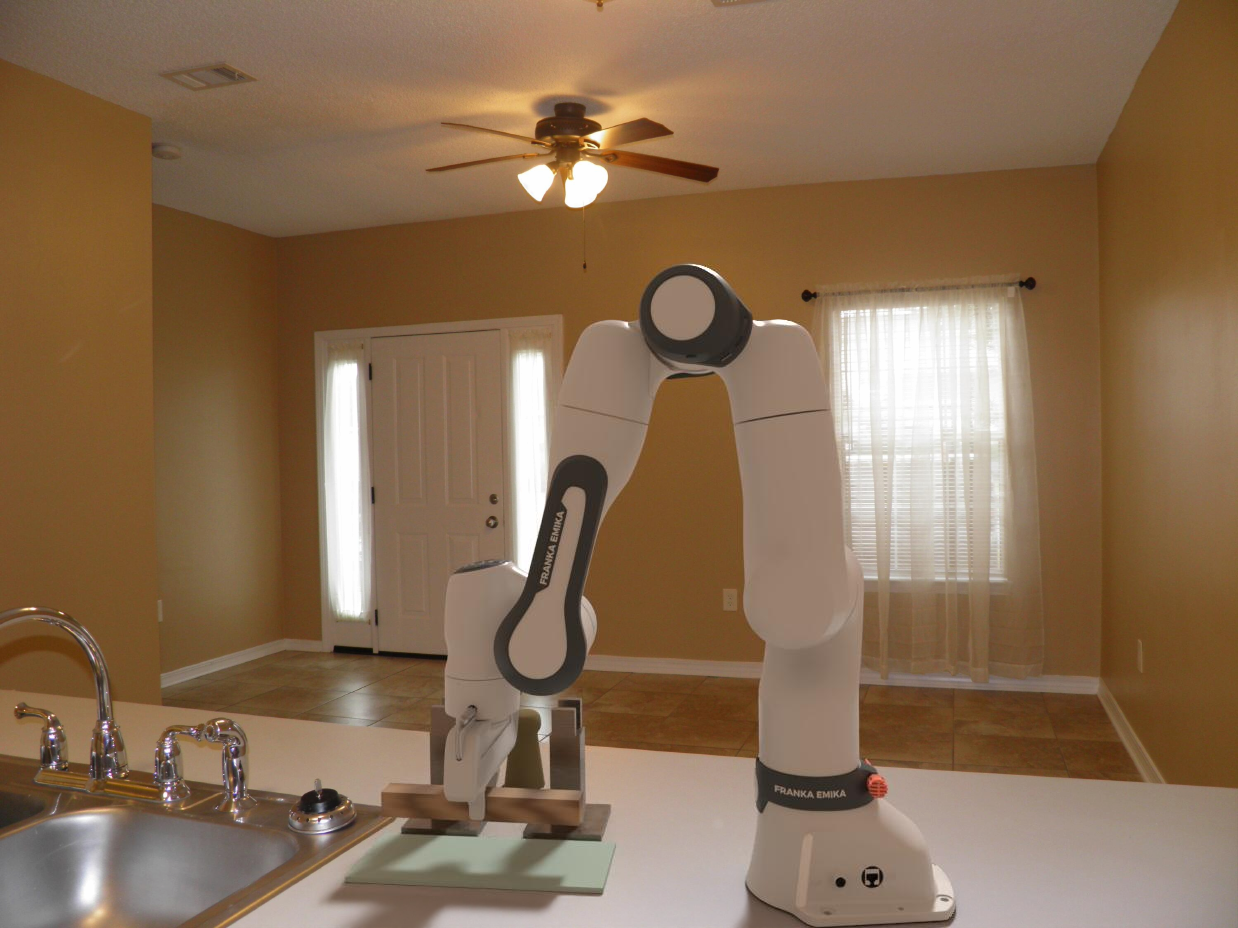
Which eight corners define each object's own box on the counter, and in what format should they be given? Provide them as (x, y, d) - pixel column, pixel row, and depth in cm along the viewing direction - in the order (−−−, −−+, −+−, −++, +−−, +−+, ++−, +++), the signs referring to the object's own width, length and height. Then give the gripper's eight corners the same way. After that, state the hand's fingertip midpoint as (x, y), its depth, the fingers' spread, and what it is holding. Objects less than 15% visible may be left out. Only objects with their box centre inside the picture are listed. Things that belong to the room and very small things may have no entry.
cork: (525, 795, 132) (524, 718, 132) (495, 786, 136) (494, 712, 135) (553, 782, 137) (552, 709, 137) (523, 774, 140) (522, 702, 140)
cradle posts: (610, 811, 126) (609, 694, 125) (601, 842, 116) (599, 715, 115) (426, 805, 129) (424, 690, 128) (401, 835, 119) (399, 711, 119)
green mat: (615, 846, 115) (615, 841, 115) (603, 893, 103) (602, 887, 103) (383, 837, 118) (383, 833, 118) (344, 881, 106) (344, 876, 106)
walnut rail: (583, 815, 110) (583, 790, 110) (579, 825, 107) (579, 800, 107) (390, 806, 113) (390, 782, 113) (381, 816, 110) (381, 791, 110)
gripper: (485, 722, 99) (486, 849, 100) (526, 675, 120) (527, 780, 120) (428, 720, 100) (429, 846, 100) (479, 674, 120) (480, 778, 121)
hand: (483, 810), depth 110 cm, fingers closed on walnut rail, 3 cm apart
